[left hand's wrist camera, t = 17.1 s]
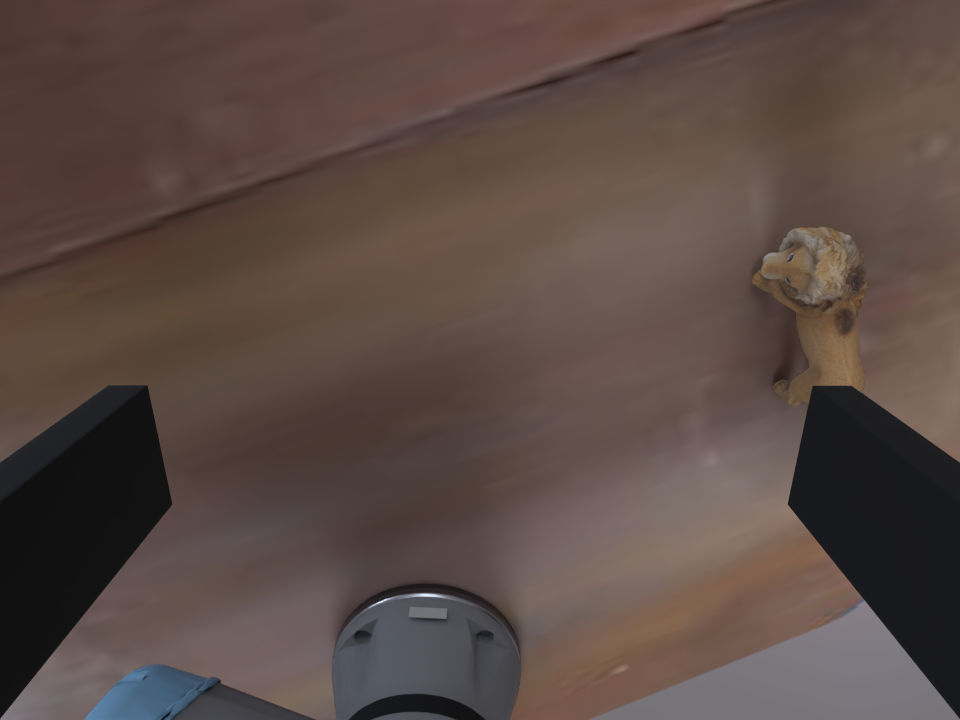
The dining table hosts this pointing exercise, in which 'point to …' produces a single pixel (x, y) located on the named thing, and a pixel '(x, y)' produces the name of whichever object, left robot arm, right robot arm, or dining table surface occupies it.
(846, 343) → the lion figurine
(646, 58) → the dining table surface
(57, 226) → the dining table surface
